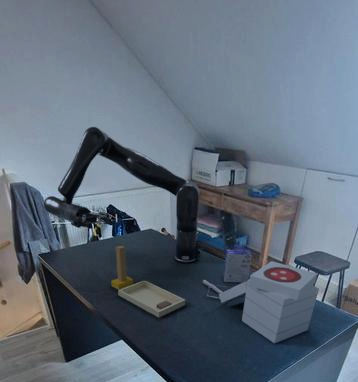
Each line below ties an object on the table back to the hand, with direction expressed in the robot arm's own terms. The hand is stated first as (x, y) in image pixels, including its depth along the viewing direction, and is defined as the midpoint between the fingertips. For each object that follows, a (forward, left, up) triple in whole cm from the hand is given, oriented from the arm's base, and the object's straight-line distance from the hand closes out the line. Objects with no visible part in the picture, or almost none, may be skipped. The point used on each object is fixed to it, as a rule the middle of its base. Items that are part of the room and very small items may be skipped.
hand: (101, 223), depth 124 cm
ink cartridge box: (-48, +21, -22) cm, 57 cm away
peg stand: (-4, +10, -22) cm, 25 cm away
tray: (-9, +25, -22) cm, 35 cm away
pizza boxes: (-39, +50, -22) cm, 68 cm away
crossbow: (-35, +27, -22) cm, 50 cm away
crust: (-12, +32, -21) cm, 40 cm away
